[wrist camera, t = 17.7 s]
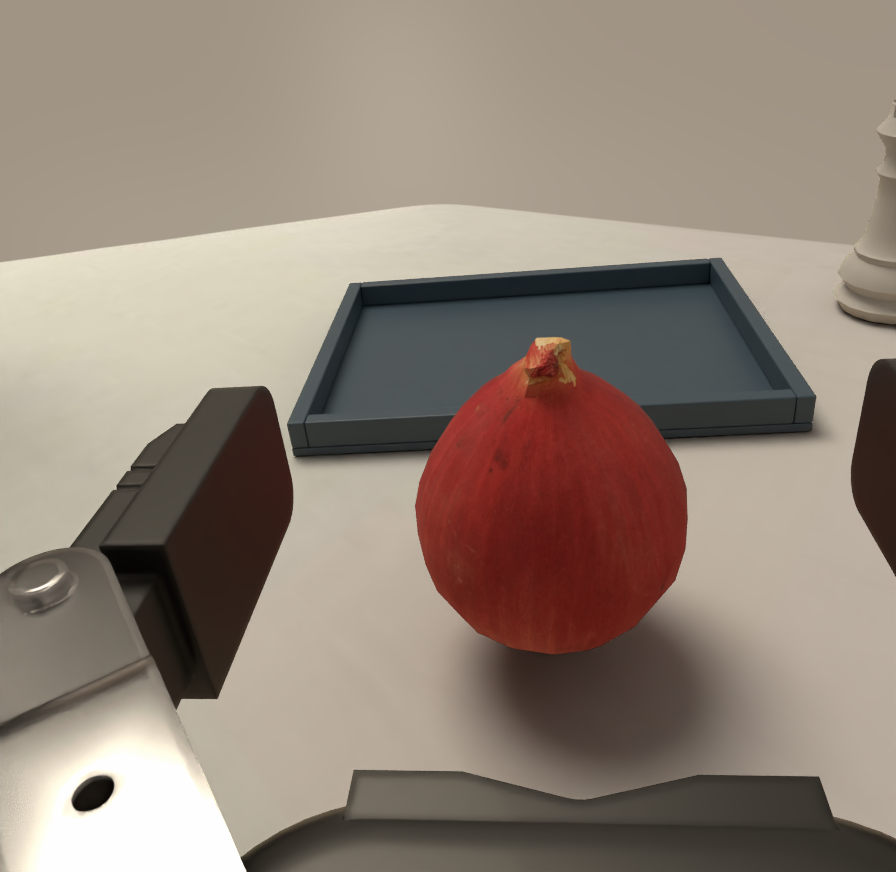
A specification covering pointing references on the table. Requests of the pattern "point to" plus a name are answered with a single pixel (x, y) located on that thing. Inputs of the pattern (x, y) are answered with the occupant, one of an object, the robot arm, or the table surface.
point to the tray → (540, 316)
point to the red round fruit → (551, 507)
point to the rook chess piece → (875, 246)
